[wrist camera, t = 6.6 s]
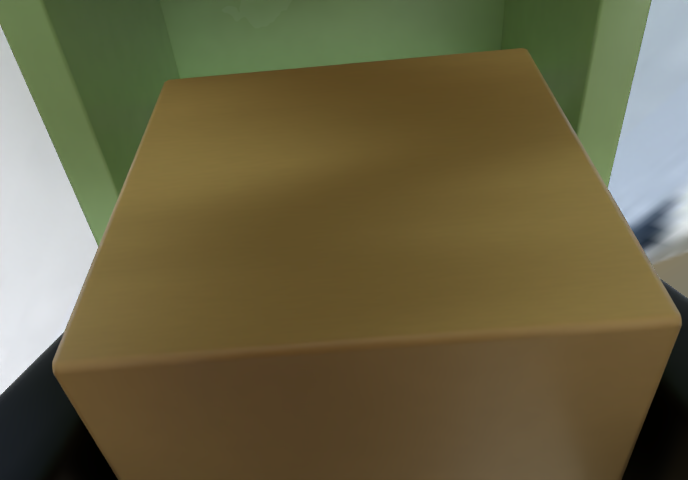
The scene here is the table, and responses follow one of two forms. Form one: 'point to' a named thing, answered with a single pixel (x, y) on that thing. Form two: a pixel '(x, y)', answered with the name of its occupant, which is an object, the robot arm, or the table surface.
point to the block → (367, 284)
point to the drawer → (293, 60)
